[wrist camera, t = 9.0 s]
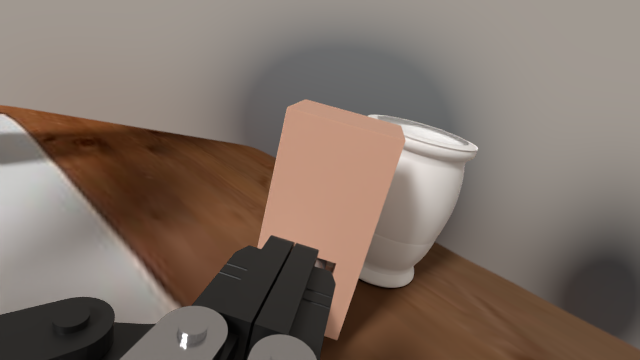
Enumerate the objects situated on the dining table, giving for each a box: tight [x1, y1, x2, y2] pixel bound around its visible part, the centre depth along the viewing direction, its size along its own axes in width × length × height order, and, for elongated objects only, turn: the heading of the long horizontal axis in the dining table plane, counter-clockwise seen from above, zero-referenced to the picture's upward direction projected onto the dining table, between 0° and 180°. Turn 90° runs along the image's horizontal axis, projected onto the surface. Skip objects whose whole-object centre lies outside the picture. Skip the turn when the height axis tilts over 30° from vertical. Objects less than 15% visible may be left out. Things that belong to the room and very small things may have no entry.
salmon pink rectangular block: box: [258, 100, 406, 340], centre depth 24 cm, size 5×7×14 cm
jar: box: [359, 115, 478, 288], centre depth 34 cm, size 11×10×15 cm
